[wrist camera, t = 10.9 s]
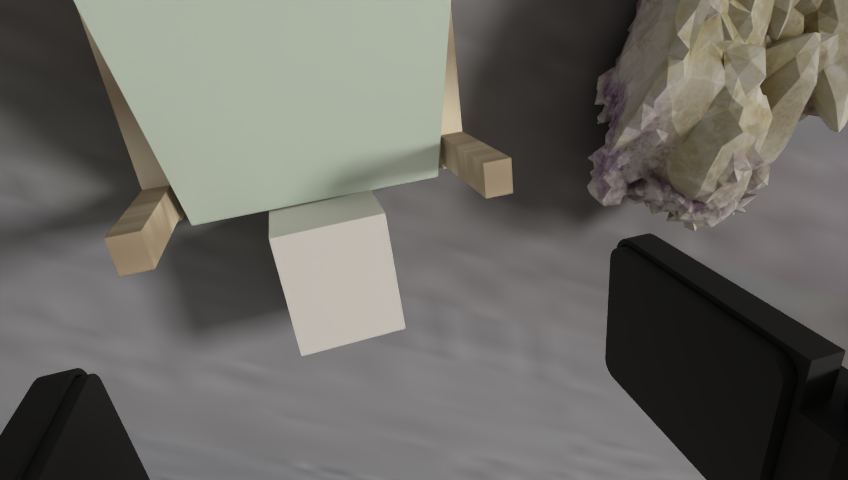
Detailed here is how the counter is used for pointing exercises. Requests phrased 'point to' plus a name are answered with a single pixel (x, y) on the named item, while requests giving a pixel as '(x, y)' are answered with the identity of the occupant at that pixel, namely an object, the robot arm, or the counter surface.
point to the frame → (161, 210)
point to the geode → (715, 100)
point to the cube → (336, 270)
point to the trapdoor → (279, 94)
